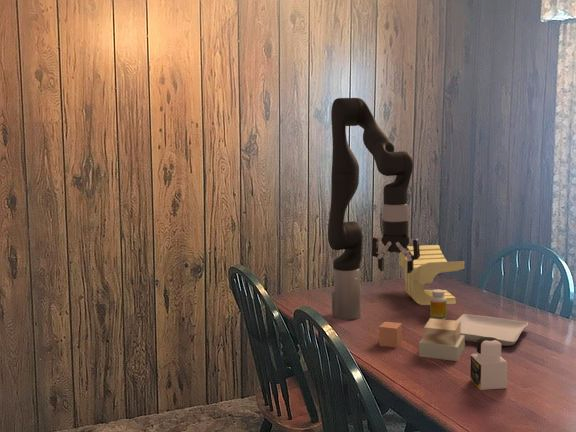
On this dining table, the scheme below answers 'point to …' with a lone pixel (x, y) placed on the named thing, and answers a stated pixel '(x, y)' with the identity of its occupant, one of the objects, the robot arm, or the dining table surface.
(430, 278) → the slatted curved stool
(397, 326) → the cube
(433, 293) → the supplement bottle
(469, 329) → the salad plate
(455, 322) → the top block
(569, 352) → the dining table surface
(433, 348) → the base block
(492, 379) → the medicine bottle
